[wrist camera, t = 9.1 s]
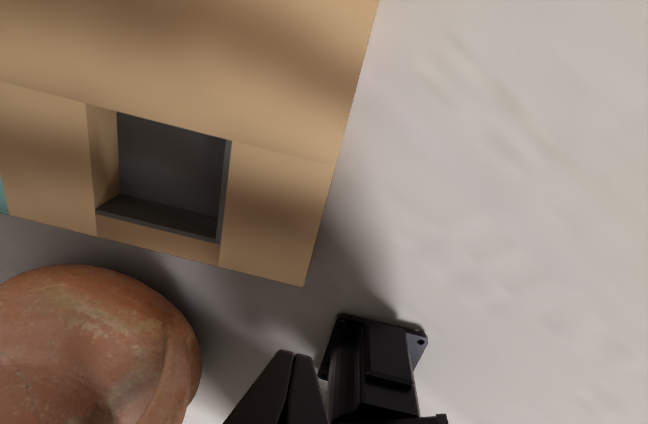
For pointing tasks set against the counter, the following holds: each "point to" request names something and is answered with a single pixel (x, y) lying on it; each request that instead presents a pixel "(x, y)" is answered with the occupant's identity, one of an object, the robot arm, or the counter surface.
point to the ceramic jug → (93, 350)
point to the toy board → (180, 122)
